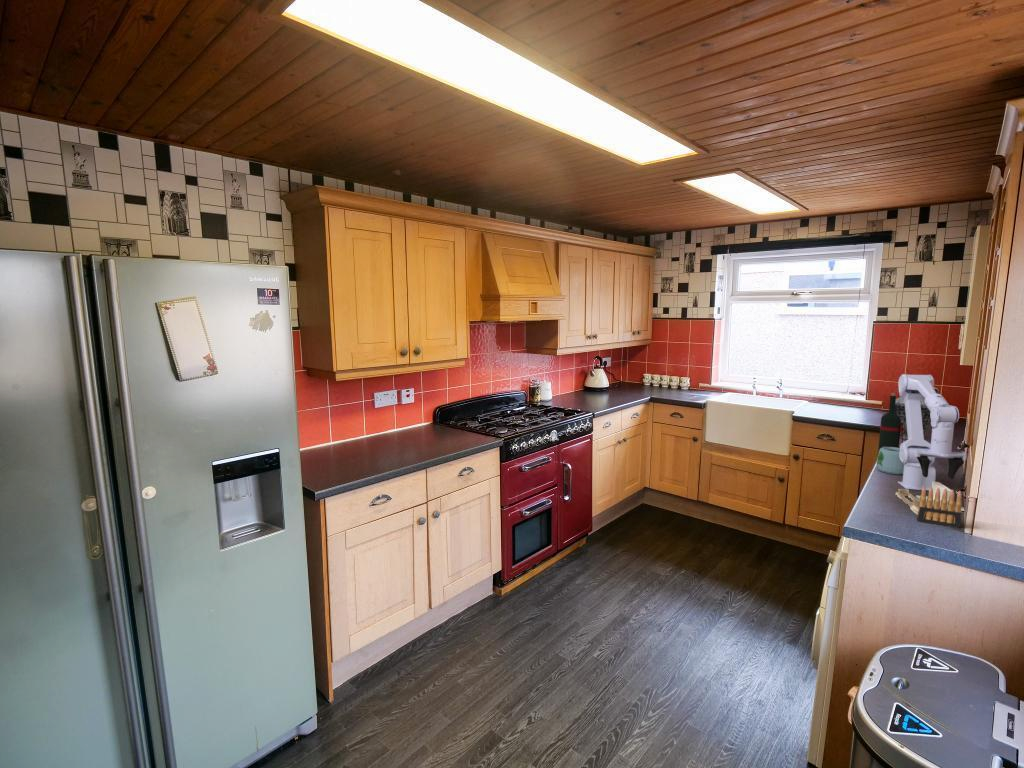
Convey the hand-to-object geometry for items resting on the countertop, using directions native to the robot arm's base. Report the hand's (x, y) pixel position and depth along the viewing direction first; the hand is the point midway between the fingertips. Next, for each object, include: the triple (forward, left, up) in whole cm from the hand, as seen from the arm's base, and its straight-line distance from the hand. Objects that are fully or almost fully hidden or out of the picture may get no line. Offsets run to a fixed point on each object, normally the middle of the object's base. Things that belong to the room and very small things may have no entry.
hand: (937, 477), depth 182 cm
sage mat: (-1, +2, -9) cm, 10 cm away
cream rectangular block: (-1, +1, -9) cm, 9 cm away
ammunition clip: (+8, +22, -10) cm, 25 cm away
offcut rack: (+8, +5, -9) cm, 13 cm away
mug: (+1, -39, -10) cm, 40 cm away
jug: (-32, -106, -10) cm, 112 cm away
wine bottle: (-9, -65, -10) cm, 66 cm away
